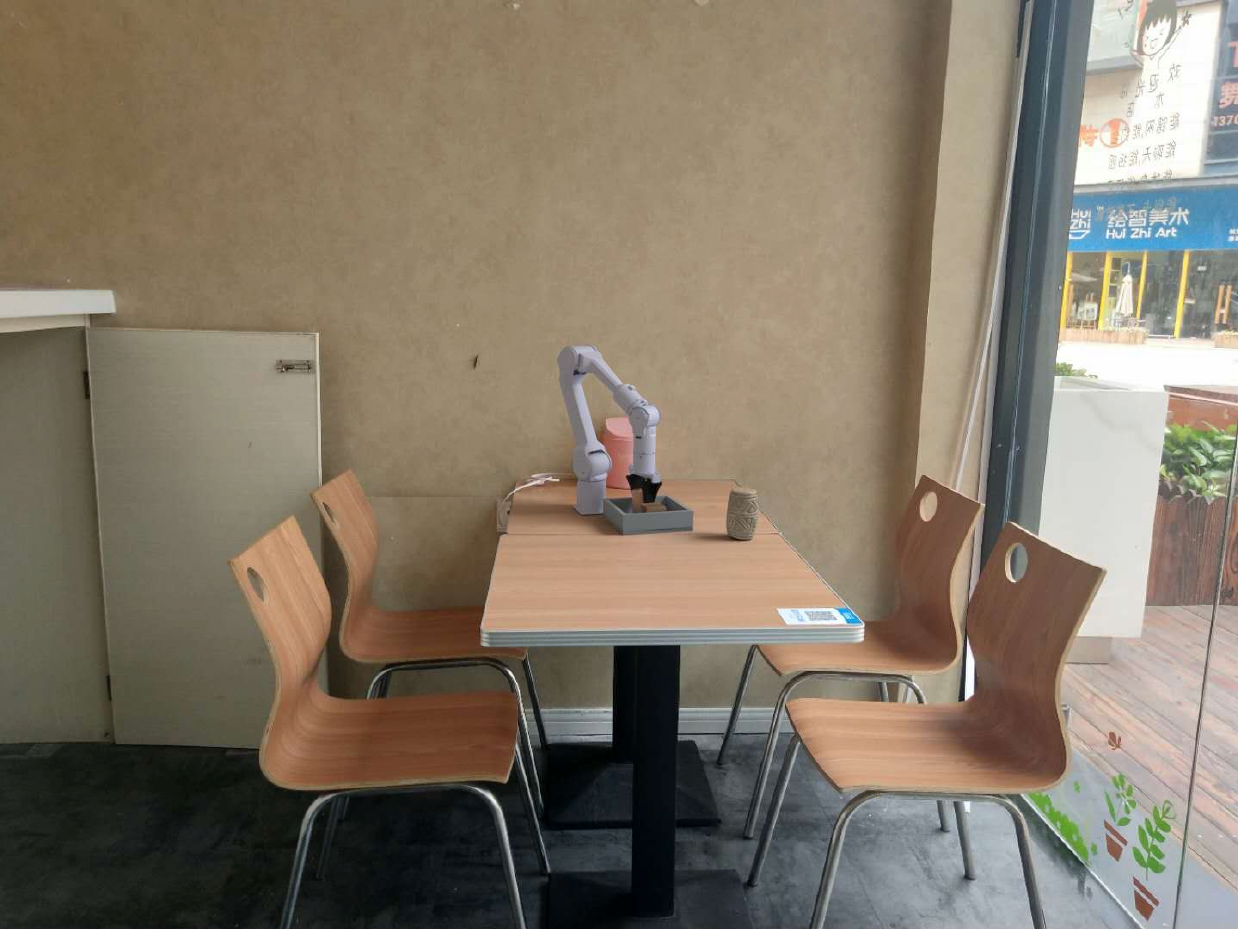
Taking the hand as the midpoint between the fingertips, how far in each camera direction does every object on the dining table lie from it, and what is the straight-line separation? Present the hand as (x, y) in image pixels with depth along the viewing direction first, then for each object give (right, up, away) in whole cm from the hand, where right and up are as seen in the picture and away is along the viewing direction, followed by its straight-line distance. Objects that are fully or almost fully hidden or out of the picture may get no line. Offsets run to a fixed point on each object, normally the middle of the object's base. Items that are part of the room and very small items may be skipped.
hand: (643, 504), depth 231 cm
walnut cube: (+2, -5, -7) cm, 9 cm away
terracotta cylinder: (0, -3, 0) cm, 3 cm away
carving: (+23, -8, -14) cm, 28 cm away
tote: (+1, -5, -2) cm, 5 cm away
